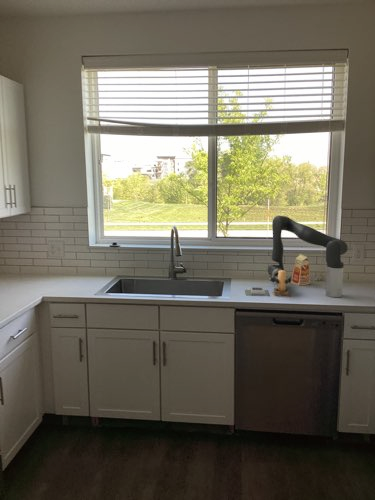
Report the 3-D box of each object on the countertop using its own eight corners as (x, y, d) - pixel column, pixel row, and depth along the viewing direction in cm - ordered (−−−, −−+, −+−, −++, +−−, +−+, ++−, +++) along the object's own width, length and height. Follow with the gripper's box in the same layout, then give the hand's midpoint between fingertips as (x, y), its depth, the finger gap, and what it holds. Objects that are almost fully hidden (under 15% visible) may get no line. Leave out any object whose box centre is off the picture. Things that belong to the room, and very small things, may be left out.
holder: (288, 293, 250) (288, 288, 250) (291, 298, 241) (291, 292, 240) (271, 293, 251) (272, 287, 251) (273, 297, 242) (273, 292, 241)
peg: (285, 293, 247) (286, 270, 245) (284, 295, 243) (285, 272, 241) (278, 292, 249) (279, 270, 246) (277, 294, 245) (277, 271, 242)
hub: (267, 291, 255) (268, 286, 255) (270, 298, 241) (270, 292, 241) (244, 291, 257) (245, 285, 256) (245, 297, 243) (246, 291, 242)
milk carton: (290, 282, 279) (292, 253, 276) (301, 281, 283) (303, 252, 279) (299, 285, 271) (301, 255, 267) (311, 284, 274) (312, 254, 271)
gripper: (267, 269, 259) (270, 275, 242) (290, 270, 257) (295, 276, 241) (267, 281, 260) (269, 288, 243) (290, 281, 259) (294, 288, 242)
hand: (282, 282), depth 242 cm, fingers closed on peg, 4 cm apart
